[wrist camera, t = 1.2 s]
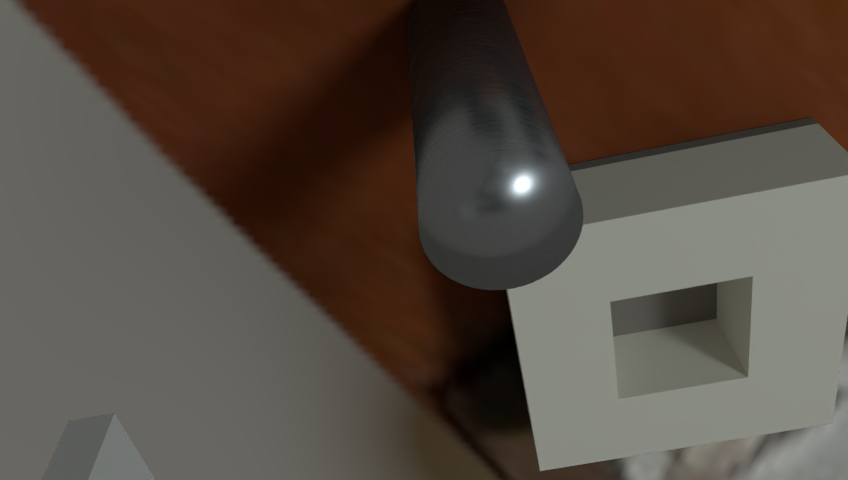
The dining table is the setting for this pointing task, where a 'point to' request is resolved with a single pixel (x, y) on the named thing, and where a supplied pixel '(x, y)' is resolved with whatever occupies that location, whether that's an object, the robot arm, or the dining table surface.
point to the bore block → (691, 298)
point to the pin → (485, 150)
